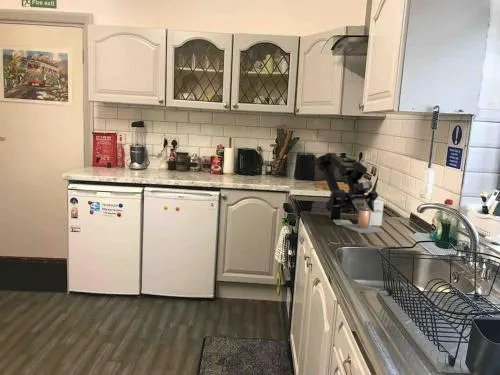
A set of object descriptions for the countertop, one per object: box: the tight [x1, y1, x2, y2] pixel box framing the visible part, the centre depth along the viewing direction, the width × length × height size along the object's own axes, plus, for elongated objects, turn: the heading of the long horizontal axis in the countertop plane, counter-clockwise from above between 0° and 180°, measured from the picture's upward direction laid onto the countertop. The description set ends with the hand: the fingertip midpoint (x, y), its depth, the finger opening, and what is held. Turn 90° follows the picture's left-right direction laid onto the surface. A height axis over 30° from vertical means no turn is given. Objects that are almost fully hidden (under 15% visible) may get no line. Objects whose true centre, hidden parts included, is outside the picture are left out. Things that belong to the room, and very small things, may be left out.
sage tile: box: [332, 219, 354, 226], centre depth 226 cm, size 8×8×1 cm
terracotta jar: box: [357, 205, 370, 229], centre depth 213 cm, size 5×5×10 cm
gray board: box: [342, 223, 385, 234], centre depth 214 cm, size 14×14×1 cm
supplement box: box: [363, 199, 385, 227], centre depth 225 cm, size 7×7×13 cm
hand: (365, 211), depth 212 cm, fingers open, 9 cm apart
